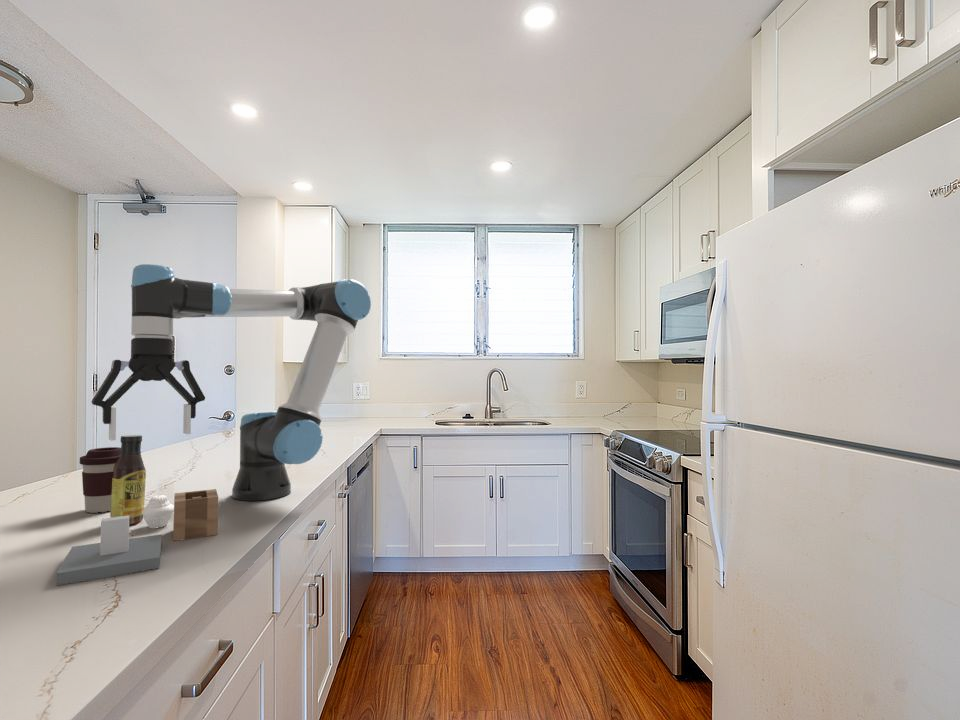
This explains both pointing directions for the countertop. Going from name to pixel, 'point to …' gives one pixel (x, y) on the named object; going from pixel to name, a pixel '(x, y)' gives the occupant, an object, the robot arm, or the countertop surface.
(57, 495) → the countertop surface
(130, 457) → the sauce bottle
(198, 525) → the brown hollow block
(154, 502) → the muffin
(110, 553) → the shaft stand
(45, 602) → the countertop surface
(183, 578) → the countertop surface
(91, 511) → the coffee cup
